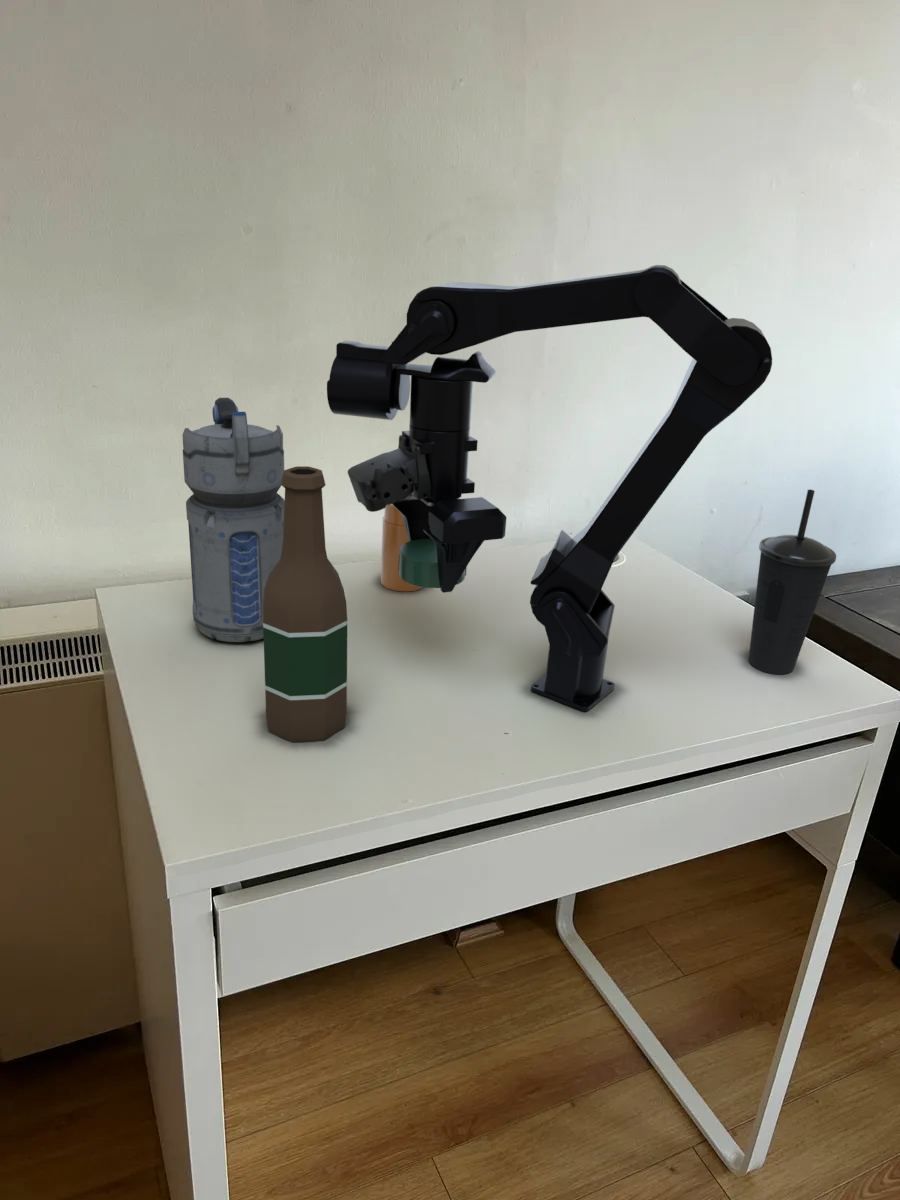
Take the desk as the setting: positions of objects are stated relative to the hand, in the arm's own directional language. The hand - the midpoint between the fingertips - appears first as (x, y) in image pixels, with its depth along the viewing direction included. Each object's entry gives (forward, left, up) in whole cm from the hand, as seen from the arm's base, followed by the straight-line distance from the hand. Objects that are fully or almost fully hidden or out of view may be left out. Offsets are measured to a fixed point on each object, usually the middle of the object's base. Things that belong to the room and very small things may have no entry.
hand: (432, 578), depth 91 cm
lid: (0, 0, +3) cm, 3 cm away
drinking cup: (+26, -28, -10) cm, 39 cm away
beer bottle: (-16, +2, -10) cm, 19 cm away
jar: (+16, +16, -10) cm, 24 cm away
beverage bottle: (-6, +22, -10) cm, 25 cm away
